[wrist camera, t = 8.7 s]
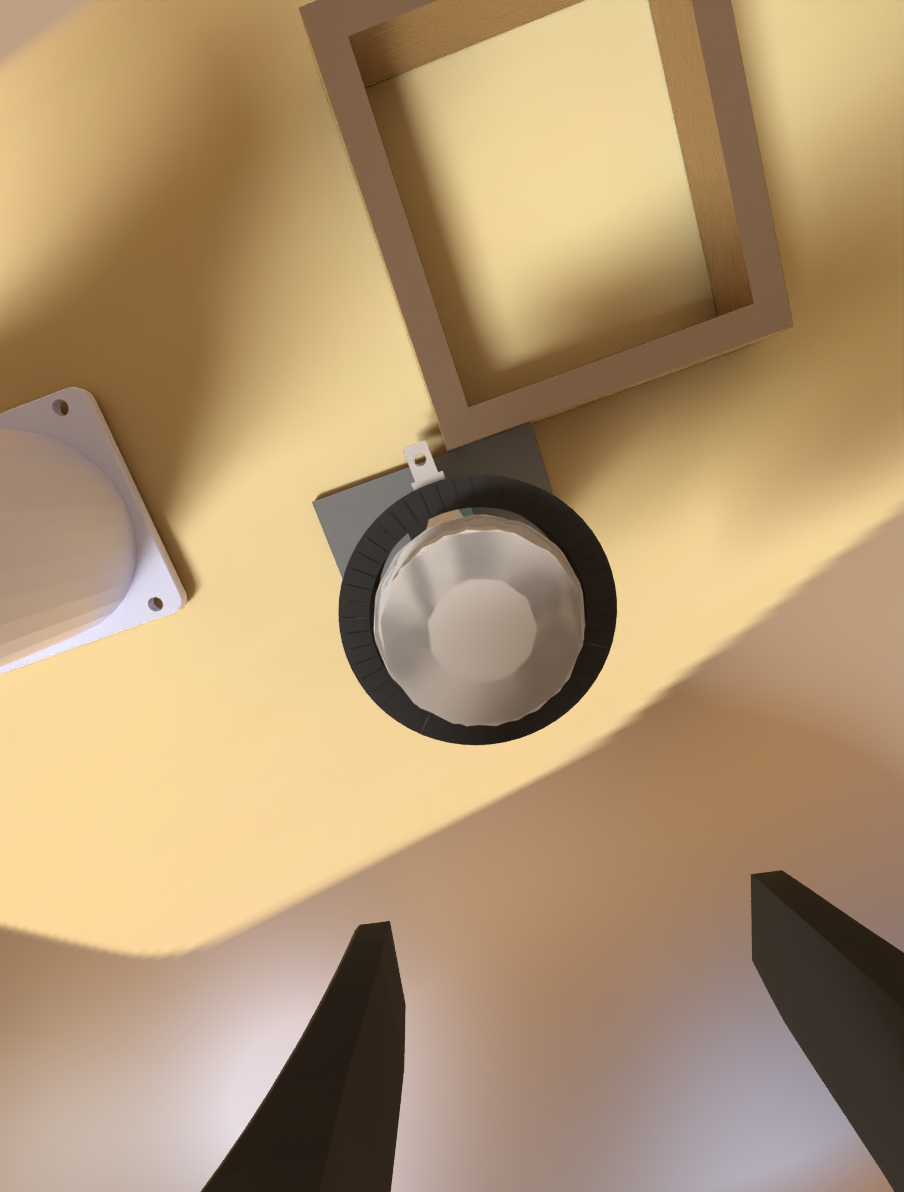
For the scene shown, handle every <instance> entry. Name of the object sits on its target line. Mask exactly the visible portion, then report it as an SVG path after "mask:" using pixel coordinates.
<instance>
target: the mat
mask: <svg viewBox="0 0 904 1192" xmlns="http://www.w3.org/2000/svg"><path fill="white" fill-rule="evenodd" d="M433 461H434V463H435V466H436V468H437V471H438V472H441V471H443V473H444V476H445V478H446V479H447V478H452V477H457V476H466V475H494V476H503V477H508V478H512V479H517V480H520V481H523V482H526V483H529V484H532V485H534V486H536V487H539V488H541V489H543V490H545V491H547V492H549V493H550V494H552V491H551V488H550V485H549V481H548V478H547V475H546V471H545V468H544V465H543V461H542V458H541V455H540V451H539V448H538V445H537V442H536V438H535V435H534V432H533V428H532V425H531V423H530V424H527V425H525V426H522V427H519V428H516V429H513V430H511V431H508V432H505V433H502V434H500V435H497V436H494V437H491V438H488V439H486V440H483V441H480V442H477V443H475V444H472V445H469V446H466V447H463V448H461V449H458V450H455V451H452V452H449V453H447V454H444V455H441V456H438V457H436V458H433ZM425 463H426V461H424V462H422V463H419V464H416V465H417V466H423V465H424V464H425ZM414 482H415V480H414V477H413V475H412V472H411V470H410V467H408V468H405V469H402V470H399V471H397V472H394V473H391V474H388V475H385V476H383V477H380V478H377V479H374V480H372V481H369V482H366V483H363V484H360V485H358V486H355V487H352V488H349V489H347V490H344V491H341V492H338V493H335V494H333V495H330V496H327V497H324V498H322V499H319V500H316V501H313V502H312V503H313V506H314V508H315V511H316V513H317V516H318V518H319V521H320V523H321V526H322V528H323V531H324V533H325V536H326V538H327V541H328V543H329V546H330V548H331V551H332V553H333V556H334V558H335V561H336V563H337V566H338V568H339V571H340V573H341V576H342V578H343V577H344V573H345V570H346V567H347V565H348V562H349V559H350V557H351V555H352V553H353V551H354V549H355V547H356V545H357V544H358V542H359V541H360V539H361V538H362V536H363V535H364V533H365V532H366V530H367V529H368V528H369V527H370V526H371V524H372V523H373V522H374V521H375V520H376V519H377V518H378V517H379V516H380V515H381V514H382V513H383V512H384V511H385V510H386V509H387V508H389V507H390V506H391V505H392V504H394V503H395V502H396V501H398V500H399V499H401V498H402V497H404V496H406V495H407V494H409V493H411V492H412V491H414V490H413V487H412V485H411V483H414ZM471 509H472V512H473V515H490V516H495V517H500V518H505V519H511V520H516V521H520V522H522V523H524V524H526V525H528V526H530V527H531V528H533V529H534V530H536V531H537V532H539V533H540V534H541V535H543V536H544V537H546V536H545V534H544V533H543V532H542V531H541V530H540V529H539V528H537V527H536V526H535V525H534V524H533V523H531V522H530V521H528V520H527V519H525V518H524V517H522V516H520V515H518V514H516V513H513V512H510V511H506V510H501V509H497V508H486V507H475V508H471ZM546 538H547V537H546ZM547 539H548V538H547ZM548 540H549V539H548ZM409 542H411V539H410V536H409V534H406V535H405V536H404V537H403V538H402V539H401V540H400V541H399V542H398V543H397V544H396V546H395V547H394V548H393V549H392V551H391V553H390V554H389V556H388V558H387V561H386V563H385V565H384V568H383V571H382V574H381V579H380V583H381V581H382V579H383V577H384V575H385V573H386V571H387V570H388V568H389V566H390V564H391V562H392V560H393V558H394V556H395V555H396V554H397V553H398V552H399V551H400V550H401V549H402V548H403V547H404V546H405V545H407V544H408V543H409ZM379 585H380V584H379Z"/></svg>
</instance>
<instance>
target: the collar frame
mask: <svg viewBox="0 0 904 1192" xmlns="http://www.w3.org/2000/svg"><path fill="white" fill-rule="evenodd" d="M581 1H583V0H317V1H314V2H312V3H309V4H307V5H305V6H302V7H300V8H299V10H300V13H301V16H302V20H303V23H304V26H305V30H306V33H307V36H308V40H309V43H310V46H311V50H312V53H313V56H314V60H315V63H316V66H317V69H318V72H319V75H320V78H321V81H322V84H323V87H324V90H325V93H326V96H327V99H328V102H329V105H330V108H331V111H332V114H333V117H334V119H335V122H336V125H337V128H338V131H339V134H340V137H341V140H342V143H343V146H344V149H345V152H346V155H347V158H348V161H349V164H350V167H351V170H352V173H353V176H354V179H355V182H356V184H357V187H358V190H359V193H360V196H361V199H362V202H363V205H364V208H365V211H366V214H367V217H368V220H369V223H370V226H371V229H372V232H373V235H374V238H375V241H376V244H377V247H378V249H379V252H380V255H381V258H382V261H383V264H384V267H385V270H386V273H387V276H388V279H389V282H390V285H391V288H392V291H393V294H394V297H395V300H396V303H397V306H398V309H399V312H400V314H401V317H402V320H403V323H404V326H405V329H406V332H407V335H408V338H409V341H410V344H411V347H412V350H413V353H414V356H415V359H416V362H417V365H418V368H419V371H420V374H421V376H422V379H423V382H424V385H425V388H426V391H427V394H428V397H429V400H430V403H431V406H432V409H433V412H434V415H435V418H436V421H437V424H438V427H439V430H440V433H441V436H442V439H443V441H444V444H445V447H446V450H447V453H449V452H452V451H455V450H458V449H461V448H463V447H466V446H469V445H472V444H475V443H477V442H480V441H483V440H486V439H488V438H491V437H494V436H497V435H500V434H502V433H505V432H508V431H511V430H513V429H516V428H519V427H522V426H525V425H527V424H530V423H534V422H537V421H540V420H542V419H545V418H548V417H551V416H554V415H556V414H559V413H562V412H565V411H567V410H570V409H573V408H576V407H579V406H581V405H584V404H587V403H590V402H592V401H595V400H598V399H601V398H604V397H606V396H609V395H612V394H615V393H618V392H620V391H623V390H626V389H629V388H631V387H634V386H637V385H640V384H643V383H645V382H648V381H651V380H654V379H656V378H659V377H662V376H665V375H668V374H670V373H673V372H676V371H679V370H682V369H684V368H687V367H690V366H693V365H695V364H698V363H701V362H704V361H707V360H709V359H712V358H715V357H718V356H720V355H723V354H726V353H729V352H732V351H734V350H737V349H740V348H743V347H745V346H748V345H751V344H754V343H756V342H759V341H761V340H763V339H765V338H768V337H770V336H772V335H774V334H777V333H779V332H781V331H784V330H786V329H788V328H790V327H793V323H792V318H791V313H790V307H789V302H788V297H787V292H786V287H785V281H784V276H783V271H782V266H781V260H780V255H779V250H778V245H777V240H776V234H775V229H774V224H773V219H772V214H771V208H770V203H769V198H768V193H767V188H766V182H765V177H764V172H763V167H762V162H761V156H760V151H759V146H758V141H757V135H756V130H755V125H754V120H753V115H752V109H751V104H750V99H749V94H748V89H747V83H746V78H745V73H744V68H743V63H742V57H741V52H740V47H739V42H738V37H737V31H736V26H735V21H734V16H733V11H732V5H731V0H649V5H650V9H651V14H652V18H653V23H654V27H655V32H656V36H657V41H658V46H659V50H660V55H661V59H662V64H663V68H664V73H665V77H666V82H667V87H668V91H669V96H670V100H671V105H672V109H673V114H674V118H675V123H676V128H677V132H678V137H679V141H680V146H681V150H682V155H683V159H684V164H685V169H686V173H687V178H688V182H689V187H690V191H691V196H692V200H693V205H694V210H695V214H696V219H697V223H698V228H699V232H700V237H701V241H702V246H703V251H704V255H705V260H706V264H707V269H708V273H709V278H710V282H711V287H712V292H713V296H714V301H715V305H716V310H717V314H718V317H716V318H713V319H710V320H707V321H705V322H702V323H699V324H696V325H694V326H691V327H688V328H685V329H683V330H680V331H677V332H674V333H672V334H669V335H666V336H663V337H661V338H658V339H655V340H652V341H650V342H647V343H644V344H641V345H639V346H636V347H633V348H630V349H628V350H625V351H622V352H619V353H617V354H614V355H611V356H608V357H606V358H603V359H600V360H597V361H595V362H592V363H589V364H586V365H584V366H581V367H578V368H575V369H573V370H570V371H567V372H564V373H562V374H559V375H556V376H553V377H551V378H548V379H545V380H542V381H540V382H537V383H534V384H531V385H529V386H526V387H523V388H520V389H518V390H515V391H512V392H509V393H507V394H504V395H501V396H498V397H496V398H493V399H490V400H487V401H485V402H482V403H479V404H476V405H473V406H471V407H468V405H467V402H466V399H465V395H464V392H463V389H462V386H461V383H460V380H459V377H458V374H457V371H456V368H455V365H454V362H453V358H452V355H451V352H450V349H449V346H448V343H447V340H446V337H445V334H444V331H443V328H442V325H441V321H440V318H439V315H438V312H437V309H436V306H435V303H434V300H433V297H432V294H431V291H430V288H429V284H428V281H427V278H426V275H425V272H424V269H423V266H422V263H421V260H420V257H419V254H418V251H417V247H416V244H415V241H414V238H413V235H412V232H411V229H410V226H409V223H408V220H407V217H406V214H405V210H404V207H403V204H402V201H401V198H400V195H399V192H398V189H397V186H396V183H395V180H394V177H393V174H392V170H391V167H390V164H389V161H388V158H387V155H386V152H385V149H384V146H383V143H382V140H381V137H380V133H379V130H378V127H377V124H376V121H375V118H374V115H373V112H372V109H371V106H370V103H369V100H368V96H367V93H366V90H365V88H366V87H368V86H371V85H373V84H376V83H378V82H381V81H383V80H386V79H388V78H391V77H393V76H396V75H398V74H401V73H403V72H406V71H408V70H411V69H413V68H416V67H418V66H421V65H423V64H426V63H428V62H431V61H433V60H436V59H438V58H441V57H443V56H446V55H448V54H451V53H453V52H456V51H458V50H461V49H463V48H466V47H468V46H471V45H473V44H476V43H478V42H481V41H483V40H486V39H488V38H491V37H493V36H496V35H498V34H501V33H503V32H506V31H508V30H511V29H513V28H516V27H518V26H521V25H523V24H526V23H528V22H531V21H533V20H536V19H538V18H541V17H543V16H546V15H548V14H551V13H553V12H556V11H558V10H561V9H563V8H566V7H568V6H571V5H573V4H576V3H578V2H581Z"/></svg>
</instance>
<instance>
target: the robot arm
mask: <svg viewBox="0 0 904 1192" xmlns="http://www.w3.org/2000/svg"><path fill="white" fill-rule="evenodd" d="M63 402H66V403H67V404H68V407H69V411H68V413H67V414H66V415H65V416H64V415H63V413H62V412H61V405H62V403H63ZM155 597H157V598H160V599H161V601H162V602H163V607H162V609H160V608H158V607H156V606H155V604H154V598H155ZM186 603H187V595H186V592H185V590H184V588H183V586H182V583H181V581H180V579H179V577H178V575H177V573H176V571H175V568H174V566H173V564H172V562H171V560H170V558H169V556H168V554H167V551H166V549H165V547H164V545H163V543H162V541H161V539H160V536H159V534H158V532H157V530H156V528H155V526H154V524H153V521H152V519H151V517H150V515H149V513H148V511H147V509H146V507H145V504H144V502H143V500H142V498H141V496H140V494H139V492H138V489H137V487H136V485H135V483H134V481H133V479H132V477H131V474H130V472H129V470H128V468H127V466H126V464H125V462H124V459H123V457H122V455H121V453H120V451H119V449H118V447H117V445H116V442H115V440H114V438H113V436H112V434H111V432H110V430H109V427H108V425H107V423H106V421H105V419H104V417H103V415H102V412H101V410H100V408H99V406H98V404H97V402H96V400H95V398H94V396H93V395H92V394H91V393H90V392H89V391H87V390H86V389H82V388H78V387H68V388H65V389H62V390H60V391H57V392H55V393H52V394H49V395H47V396H44V397H41V398H39V399H36V400H34V401H31V402H28V403H26V404H23V405H20V406H18V407H15V408H13V409H10V410H7V411H5V412H2V413H0V674H2V673H5V672H7V671H10V670H13V669H16V668H19V667H22V666H24V665H27V664H30V663H33V662H36V661H39V660H41V659H44V658H47V657H50V656H53V655H56V654H58V653H61V652H64V651H67V650H70V649H73V648H75V647H78V646H81V645H84V644H87V643H89V642H92V641H95V640H98V639H101V638H104V637H106V636H109V635H112V634H115V633H118V632H121V631H123V630H126V629H129V628H132V627H135V626H138V625H140V624H143V623H146V622H149V621H152V620H155V619H157V618H160V617H163V616H166V615H169V614H172V613H174V612H177V611H179V610H180V609H182V608H184V606H185V605H186ZM751 908H752V909H751V910H752V912H751V913H752V961H753V962H754V965H755V966H756V969H757V970H758V972H759V974H760V977H761V978H762V980H763V982H764V984H765V986H766V988H767V990H768V992H769V994H770V996H771V998H772V1000H773V1001H774V1003H775V1005H776V1007H777V1009H778V1011H779V1013H780V1015H781V1016H782V1018H783V1020H784V1022H785V1023H786V1025H787V1027H788V1028H789V1030H790V1031H791V1033H792V1034H793V1036H794V1038H795V1039H796V1041H797V1042H798V1044H799V1045H800V1047H801V1048H802V1050H803V1051H804V1053H805V1055H806V1056H807V1058H808V1059H809V1061H810V1062H811V1064H812V1065H813V1067H814V1069H815V1070H816V1072H817V1073H818V1075H819V1076H820V1078H821V1079H822V1081H823V1082H824V1084H825V1085H826V1087H827V1088H828V1090H829V1091H830V1093H831V1094H832V1096H833V1098H834V1099H835V1100H836V1102H837V1103H838V1105H839V1107H840V1108H841V1110H842V1111H843V1113H844V1114H845V1116H846V1117H847V1119H848V1120H849V1122H850V1123H851V1125H852V1127H853V1128H854V1130H855V1131H856V1133H857V1134H858V1136H859V1137H860V1139H861V1140H862V1142H863V1143H864V1145H865V1146H866V1148H867V1149H868V1151H869V1152H870V1154H871V1155H872V1157H873V1158H874V1160H875V1161H876V1163H877V1165H878V1166H879V1168H880V1169H881V1170H882V1172H883V1174H884V1175H885V1177H886V1179H887V1180H888V1182H889V1184H890V1185H891V1187H892V1188H893V1190H894V1192H904V953H903V952H902V951H900V950H899V949H897V948H896V947H894V946H893V945H891V944H890V943H888V942H887V941H885V940H884V939H882V938H881V937H879V936H878V935H876V934H875V933H873V932H872V931H870V930H869V929H867V928H866V927H864V926H863V925H861V924H860V923H858V922H857V921H856V920H854V919H852V918H851V917H849V916H848V915H847V914H845V913H844V912H842V911H841V910H839V909H838V908H837V907H835V906H834V905H832V904H831V903H829V902H828V901H826V900H825V899H823V898H822V897H821V896H819V895H818V894H816V893H815V892H813V891H812V890H810V889H809V888H807V887H806V886H804V885H803V884H801V883H800V882H799V881H797V880H796V879H794V878H792V877H791V876H790V875H788V874H786V873H785V872H783V871H782V870H781V871H773V872H766V873H758V874H751ZM404 1052H405V1000H404V994H403V989H402V984H401V978H400V973H399V968H398V962H397V957H396V952H395V946H394V941H393V935H392V930H391V925H390V921H386V922H380V923H371V924H363V925H359V926H358V928H357V929H356V930H355V932H354V934H353V936H352V938H351V941H350V943H349V945H348V947H347V949H346V951H345V954H344V956H343V958H342V960H341V962H340V964H339V966H338V968H337V970H336V972H335V974H334V976H333V978H332V980H331V982H330V984H329V986H328V988H327V990H326V992H325V994H324V996H323V998H322V1000H321V1001H320V1003H319V1005H318V1007H317V1009H316V1011H315V1013H314V1015H313V1016H312V1018H311V1020H310V1022H309V1024H308V1026H307V1028H306V1030H305V1031H304V1033H303V1035H302V1037H301V1038H300V1040H299V1042H298V1044H297V1045H296V1048H295V1049H294V1050H293V1052H292V1054H291V1055H290V1057H289V1059H288V1060H287V1062H286V1064H285V1066H284V1067H283V1069H282V1070H281V1072H280V1074H279V1076H278V1077H277V1079H276V1081H275V1082H274V1084H273V1086H272V1087H271V1089H270V1091H269V1092H268V1094H267V1095H266V1097H265V1099H264V1100H263V1102H262V1104H261V1105H260V1106H259V1108H258V1110H257V1111H256V1113H255V1114H254V1116H253V1117H252V1119H251V1120H250V1122H249V1123H248V1125H247V1126H246V1128H245V1129H244V1131H243V1133H242V1134H241V1135H240V1137H239V1138H238V1140H237V1141H236V1143H235V1144H234V1146H233V1147H232V1149H231V1150H230V1151H229V1153H228V1154H227V1156H226V1157H225V1159H224V1160H223V1162H222V1163H221V1165H220V1166H219V1167H218V1169H217V1170H216V1171H215V1173H214V1174H213V1175H212V1177H211V1178H210V1180H209V1181H208V1182H207V1184H206V1185H205V1186H204V1188H203V1189H202V1191H201V1192H391V1183H392V1175H393V1166H394V1157H395V1148H396V1139H397V1130H398V1121H399V1112H400V1103H401V1093H402V1084H403V1074H404Z"/></svg>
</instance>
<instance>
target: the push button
mask: <svg viewBox="0 0 904 1192" xmlns="http://www.w3.org/2000/svg"><path fill="white" fill-rule="evenodd" d="M403 453H404V455H405V457H406V460H407V462H408V465H409V467H410V470H411V472H412V475H413V477H414V480H415V482H414V483H411V485H412V487H413V490H414V491H412V492H411V493H409V494H407V495H406V496H404V497H402V498H401V499H399V500H398V501H396V502H395V503H394V504H392V505H391V506H390V507H389V508H387V509H386V510H385V511H384V512H383V513H382V514H381V515H380V516H379V517H378V518H377V519H376V520H375V521H374V522H373V523H372V524H371V526H370V527H369V528H368V529H367V530H366V532H365V533H364V535H363V536H362V538H361V539H360V541H359V542H358V544H357V545H356V547H355V549H354V551H353V553H352V555H351V557H350V559H349V562H348V565H347V567H346V570H345V573H344V577H343V581H342V584H341V590H340V597H339V627H340V633H341V639H342V644H343V647H344V650H345V654H346V657H347V659H348V662H349V664H350V666H351V669H352V671H353V672H354V674H355V676H356V678H357V680H358V681H359V683H360V684H361V686H362V687H363V689H364V690H365V691H366V693H367V694H368V695H369V696H370V697H371V699H372V700H373V701H374V702H375V703H376V704H377V705H378V706H379V707H380V708H381V709H382V710H383V711H384V712H386V713H387V714H388V715H389V716H391V717H392V718H393V719H395V720H396V721H397V722H399V723H401V724H402V725H404V726H406V727H407V728H409V729H411V730H413V731H415V732H418V733H420V734H422V735H424V736H427V737H430V738H433V739H436V740H440V741H444V742H449V743H455V744H463V745H487V744H496V743H502V742H507V741H511V740H515V739H519V738H521V737H524V736H527V735H530V734H532V733H534V732H536V731H538V730H540V729H543V728H545V727H546V726H548V725H549V724H551V723H553V722H554V721H556V720H557V719H559V718H560V717H561V716H563V715H564V714H565V713H567V712H568V711H569V710H570V709H571V708H572V707H573V706H574V705H576V704H577V703H578V702H579V701H580V699H581V698H582V697H583V696H584V695H585V694H586V693H587V691H588V690H589V689H590V687H591V686H592V684H593V683H594V682H595V680H596V679H597V677H598V675H599V673H600V671H601V670H602V668H603V666H604V664H605V661H606V659H607V657H608V654H609V651H610V648H611V645H612V642H613V637H614V632H615V627H616V617H617V597H616V589H615V583H614V579H613V574H612V570H611V567H610V565H609V562H608V559H607V556H606V554H605V552H604V550H603V548H602V546H601V544H600V542H599V541H598V539H597V538H596V536H595V535H594V533H593V532H592V530H591V529H590V528H589V527H588V525H587V524H586V523H585V522H584V520H583V519H582V518H581V517H580V516H579V515H578V514H577V513H576V512H575V511H574V510H573V509H572V508H570V507H569V506H568V505H566V504H565V503H564V502H563V501H561V500H560V499H558V498H557V497H555V496H554V495H552V494H550V493H549V492H547V491H545V490H543V489H541V488H539V487H536V486H534V485H532V484H529V483H526V482H523V481H520V480H517V479H512V478H508V477H503V476H494V475H466V476H457V477H452V478H447V479H446V478H445V476H444V473H443V471H441V472H438V471H437V468H436V466H435V463H434V461H433V458H432V456H431V453H430V451H429V448H428V445H427V443H426V442H425V441H420V442H418V443H416V444H413V445H411V446H408V447H406V448H404V451H403ZM419 454H422V455H424V456H425V457H426V463H425V464H424V465H423V466H417V465H416V464H415V457H416V456H417V455H419ZM475 507H486V508H497V509H501V510H506V511H510V512H513V513H516V514H518V515H520V516H522V517H524V518H525V519H527V520H528V521H530V522H531V523H533V524H534V525H535V526H536V527H537V528H539V529H540V530H541V531H542V532H543V533H544V534H545V536H546V537H547V538H548V539H549V540H548V539H547V538H546V537H544V536H543V535H541V534H540V533H539V532H537V531H536V530H534V529H533V528H531V527H530V526H528V525H526V524H524V523H522V522H520V521H516V520H511V519H505V518H500V517H495V516H490V515H473V512H472V509H471V508H475ZM406 534H409V536H410V539H411V542H409V543H408V544H407V545H405V546H404V547H403V548H402V549H401V550H400V551H399V552H398V553H397V554H396V555H395V556H394V558H393V560H392V562H391V564H390V566H389V568H388V570H387V571H386V573H385V575H384V577H383V579H382V581H381V583H380V579H381V574H382V571H383V568H384V565H385V563H386V561H387V558H388V556H389V554H390V553H391V551H392V549H393V548H394V547H395V546H396V544H397V543H398V542H399V541H400V540H401V539H402V538H403V537H404V536H405V535H406ZM379 584H380V585H379Z"/></svg>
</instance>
